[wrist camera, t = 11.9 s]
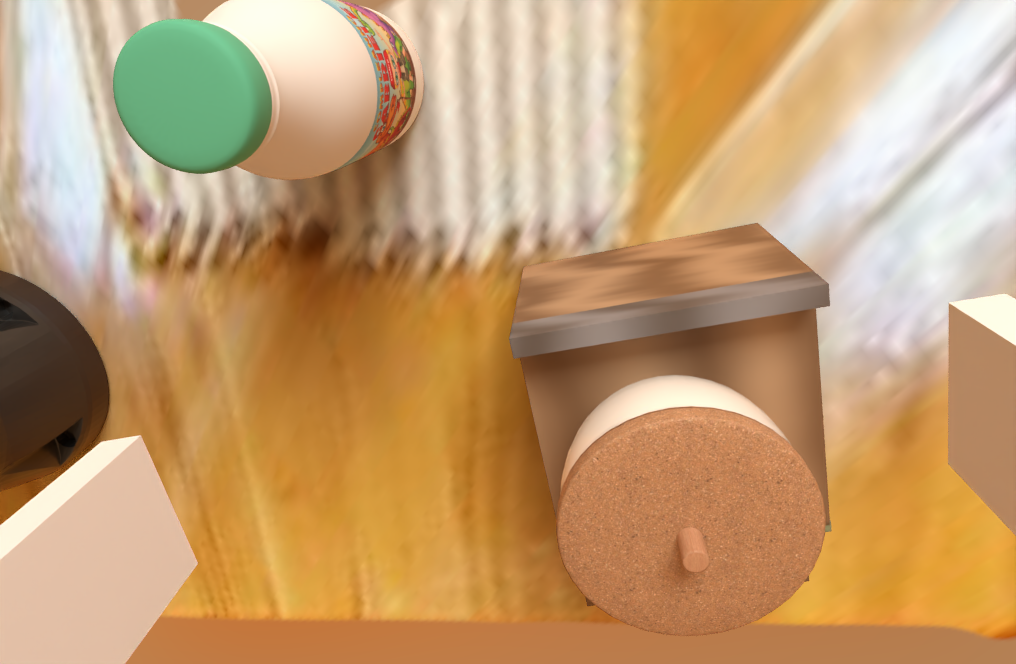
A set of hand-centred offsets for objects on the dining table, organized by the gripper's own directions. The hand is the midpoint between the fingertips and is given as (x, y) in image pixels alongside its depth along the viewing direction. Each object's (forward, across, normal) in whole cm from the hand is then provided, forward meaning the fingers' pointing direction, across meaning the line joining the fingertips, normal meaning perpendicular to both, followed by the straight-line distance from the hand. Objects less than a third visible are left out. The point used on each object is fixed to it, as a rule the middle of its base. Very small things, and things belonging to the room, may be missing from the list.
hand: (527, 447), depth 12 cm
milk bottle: (+32, -10, +7) cm, 34 cm away
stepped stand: (+32, +4, -17) cm, 36 cm away
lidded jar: (+22, +3, -13) cm, 26 cm away
